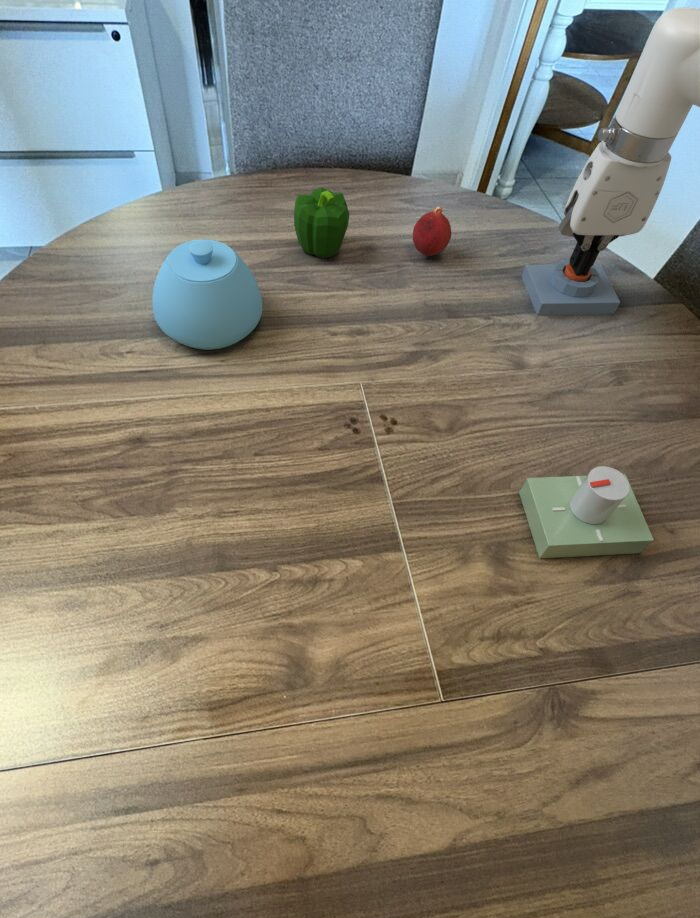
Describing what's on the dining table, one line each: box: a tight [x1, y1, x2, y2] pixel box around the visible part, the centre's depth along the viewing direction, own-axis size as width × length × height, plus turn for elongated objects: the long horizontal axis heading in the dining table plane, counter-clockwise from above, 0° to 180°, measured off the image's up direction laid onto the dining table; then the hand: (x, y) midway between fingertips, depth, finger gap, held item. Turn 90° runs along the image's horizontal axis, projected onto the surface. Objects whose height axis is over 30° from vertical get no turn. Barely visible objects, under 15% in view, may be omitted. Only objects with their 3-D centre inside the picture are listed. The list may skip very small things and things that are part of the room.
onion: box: [412, 206, 453, 257], centre depth 94 cm, size 6×6×8 cm
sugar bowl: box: [151, 238, 264, 351], centre depth 82 cm, size 15×15×12 cm
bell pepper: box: [293, 187, 350, 259], centre depth 93 cm, size 8×8×10 cm
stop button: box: [564, 263, 591, 282], centre depth 91 cm, size 4×4×2 cm
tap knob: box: [570, 465, 631, 524], centre depth 67 cm, size 4×4×5 cm
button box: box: [521, 258, 621, 316], centre depth 92 cm, size 12×9×4 cm
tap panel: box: [518, 473, 655, 559], centre depth 70 cm, size 12×9×3 cm
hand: (577, 269), depth 90 cm, fingers closed
